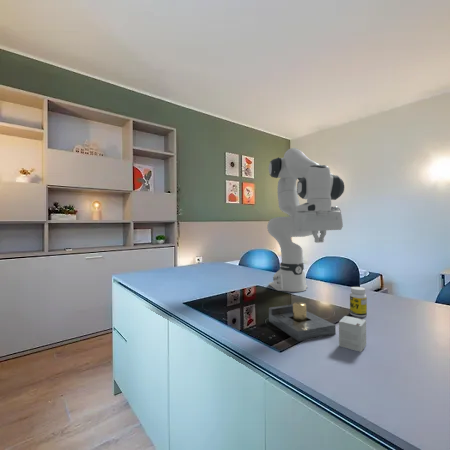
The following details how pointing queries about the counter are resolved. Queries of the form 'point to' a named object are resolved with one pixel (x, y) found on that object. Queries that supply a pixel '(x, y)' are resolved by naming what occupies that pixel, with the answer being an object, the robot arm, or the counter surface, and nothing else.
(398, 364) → the counter surface
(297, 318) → the bushing
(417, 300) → the counter surface
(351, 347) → the skincare box
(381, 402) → the counter surface
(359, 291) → the supplement bottle
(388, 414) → the counter surface
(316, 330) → the jig
